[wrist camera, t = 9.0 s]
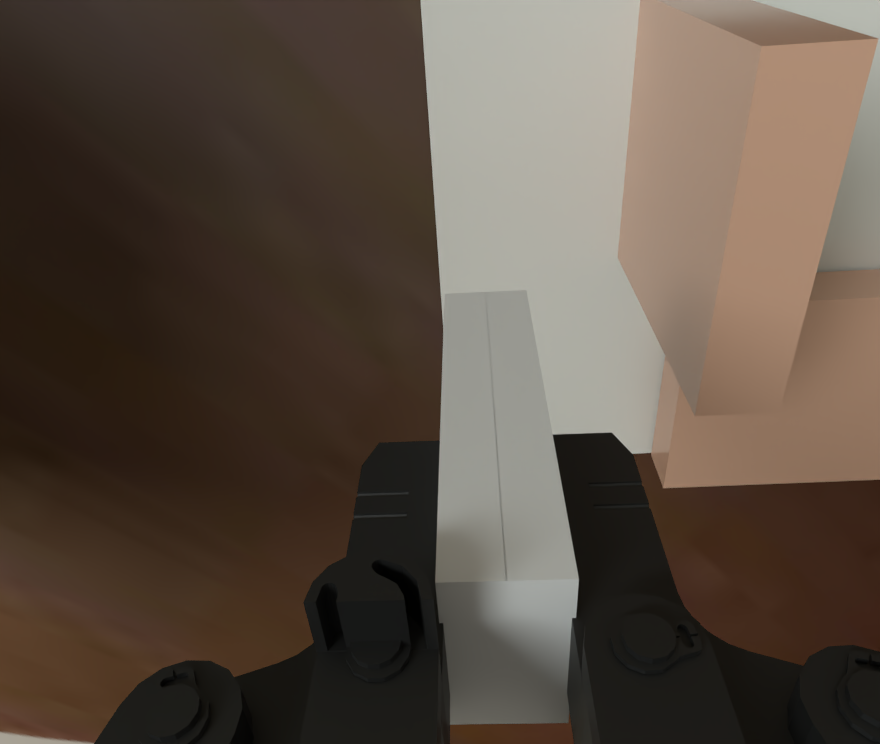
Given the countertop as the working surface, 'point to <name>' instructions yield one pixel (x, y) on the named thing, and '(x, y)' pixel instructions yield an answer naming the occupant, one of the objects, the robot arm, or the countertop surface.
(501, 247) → the stone board
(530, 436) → the robot arm
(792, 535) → the countertop surface
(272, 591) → the countertop surface
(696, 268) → the tile
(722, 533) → the countertop surface
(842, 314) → the tile
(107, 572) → the countertop surface
